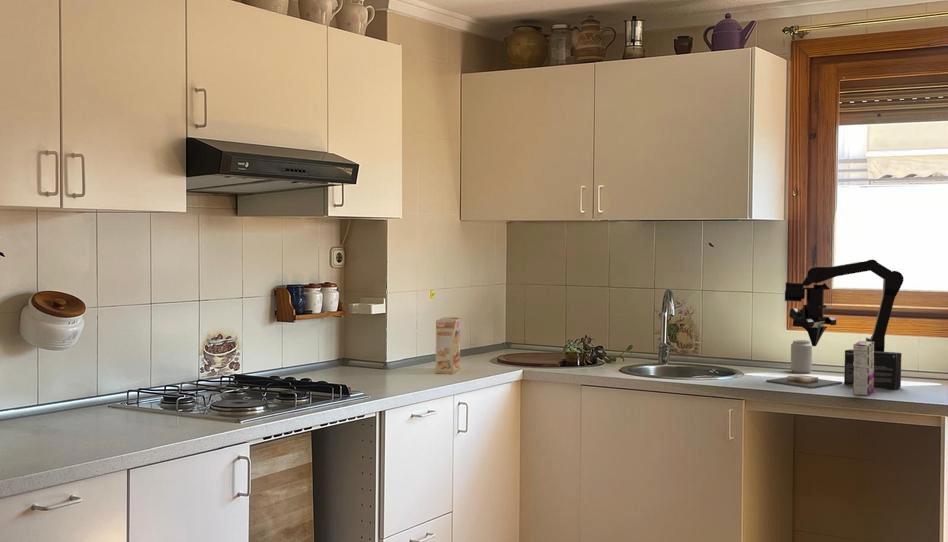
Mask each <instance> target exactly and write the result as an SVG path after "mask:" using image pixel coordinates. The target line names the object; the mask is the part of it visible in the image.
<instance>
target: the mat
mask: <svg viewBox="0 0 948 542" xmlns="http://www.w3.org/2000/svg"><path fill="white" fill-rule="evenodd" d="M787 378H788V376H787V377H786V376H785V377H780V378H773V379H772V378H771V379H766V380H765V382H766V383H771V382H772V384H778V385H786V386H791V385H792V386H793V387H798V386H799V387H800V388H805V387H806V388H807V389H812V388H813V389H817V388H818V387H819V388H823V387H824V388H825V387H831V386H837V385H842V384H843V382H842V381H839V380H838V381H837V380H829V379H822V378H818V383H812V384H804V383H797V382H790V381H787ZM799 387H798V388H799Z"/></svg>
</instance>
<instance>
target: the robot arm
mask: <svg viewBox="0 0 948 542" xmlns="http://www.w3.org/2000/svg"><path fill="white" fill-rule="evenodd" d="M869 271H870V272H872V273H874V274H875V275H876V276H878V277H879V278H881V279H883V280H882V281H883V282H882V297H881V302H880V304H879V309H878V313H877V317H876V320H875V321H876V322H875V325H874V327H873V331H872V334H871V337H870V338H869V337H865V341H868V342H874V351H881V352H885V343H886V342H885V341H886V339H885V337H886V334H887V333H886V332H887V330H888V325H889V321H890V317H891V314H892V310H893V306H894V302H895V299H896V297H897V295H898V293H899V292H900V289H901V287H902V285H903V283H904V276H903V274H902V273H901V272H900V271H898V270H894V269H892V270H891V269H889V268H888V267H885V266H884V265H882V264H881V263H879V262H878V261H877V260H876V259H873V258H871V259H867V260H863V261H862V260H861V261H856V262H851V263H844V264H840V265H835V266H833V265H832V266H828V265H827V266H825V265H824V266H821V265H819V266H811V267H810V268H808V270H807V271H806V277H805V278H804V279H803V280H802V282H790V281H789V282H788V281H786V282H785V291H784V302H797V303H798V302H802V300H805V299H806V303H805V304H803V306H802V309H797V308H796V307H795V308H790V309H789V315H788V317H789V318H791V319H792V327H800V328H802V329H804V330H805V331H806V332H807V334H808V337H809V341H810V343H811V345H812V347H817V345H818V343H819V342H820V339H821V338H822V337H823V336H822V335H823V334H824V333H825V331H826V329H828V326H825V325H830V326H837V319H836V317H834V316H825V315H824V309H826V308H827V304H825V303H824V301H825V299H824V298H825V296H824V295H825V291H827V290H830V289H831V288H830V286H828V285H827V284H826V282H824V281H828V280H830V279H833V278H836V277H840V276H847V275H852V274H858V273H864V272H869ZM822 282H824V283H822ZM819 283H822V284H819ZM812 284H813V287H812V286H811V285H812ZM804 286H805V287H804ZM809 286H811V287H809ZM805 290H806V294H805ZM805 295H806V298H805Z"/></svg>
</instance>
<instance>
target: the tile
mask: <svg viewBox="0 0 948 542" xmlns="http://www.w3.org/2000/svg"><path fill="white" fill-rule="evenodd" d="M787 377H788V378H787V381H790V382H797V383H804V384H812V383H818V379H819V376H813V375H812V376H811V375H805V374H804V375H803V374H793V375H787Z"/></svg>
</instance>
